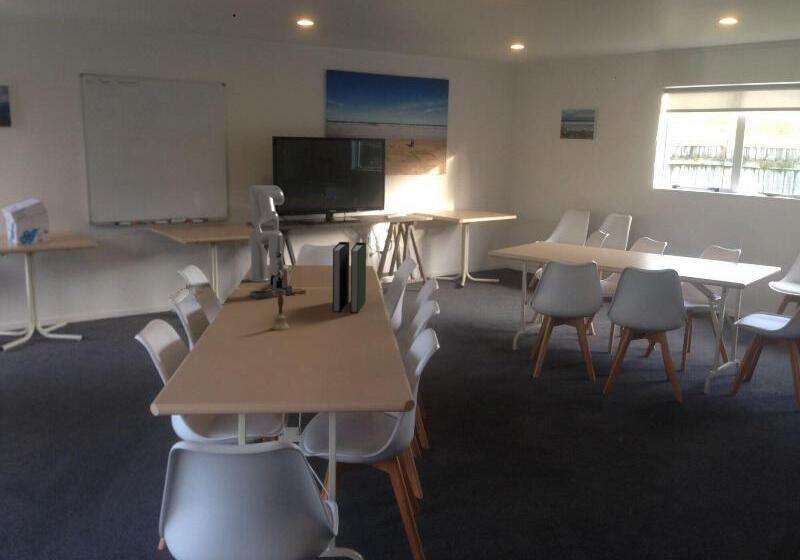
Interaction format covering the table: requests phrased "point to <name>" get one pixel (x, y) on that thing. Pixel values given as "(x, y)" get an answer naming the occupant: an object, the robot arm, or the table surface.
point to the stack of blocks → (287, 275)
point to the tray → (260, 294)
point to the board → (298, 291)
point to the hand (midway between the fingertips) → (276, 286)
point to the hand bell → (280, 317)
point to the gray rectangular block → (287, 289)
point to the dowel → (275, 284)
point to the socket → (277, 292)
